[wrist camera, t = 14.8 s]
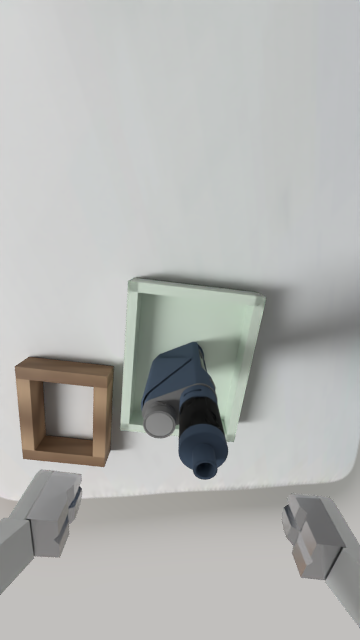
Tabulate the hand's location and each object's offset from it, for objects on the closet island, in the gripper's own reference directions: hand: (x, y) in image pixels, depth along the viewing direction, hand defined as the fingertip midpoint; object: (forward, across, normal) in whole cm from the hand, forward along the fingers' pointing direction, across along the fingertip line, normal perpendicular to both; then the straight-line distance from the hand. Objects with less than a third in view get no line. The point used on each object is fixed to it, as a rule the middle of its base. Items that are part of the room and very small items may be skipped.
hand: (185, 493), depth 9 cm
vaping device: (+13, 0, +1) cm, 13 cm away
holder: (+13, +10, +8) cm, 19 cm away
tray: (+14, 0, +1) cm, 14 cm away
